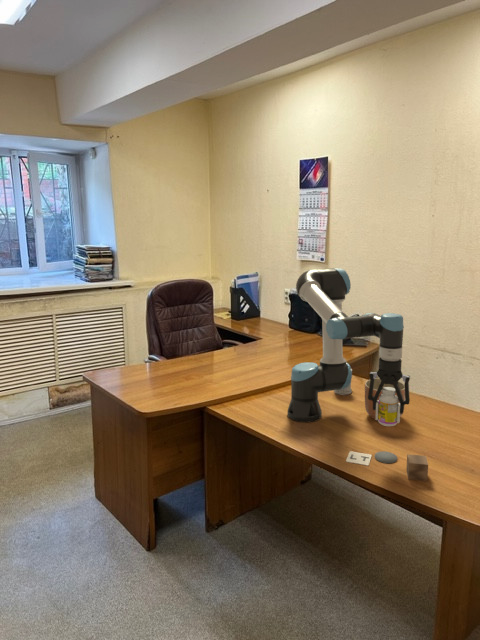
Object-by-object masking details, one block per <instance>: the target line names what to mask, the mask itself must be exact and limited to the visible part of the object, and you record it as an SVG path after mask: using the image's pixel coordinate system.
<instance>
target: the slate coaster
mask: <svg viewBox="0 0 480 640" xmlns="http://www.w3.org/2000/svg"><path fill="white" fill-rule="evenodd" d="M374 459H375V460H376V461H378V462H380V463H383V464H395V463H396V462H398V456H397V455H396V454H395V453H393V452H389V451H385V450H384V451H378V452H376V453H375V454H374Z"/></svg>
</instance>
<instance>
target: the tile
mask: <svg viewBox="0 0 480 640" xmlns="http://www.w3.org/2000/svg"><path fill="white" fill-rule="evenodd" d="M372 456H373V455H372V454H369V453H362V452H357V451H352V450H349V453H348V455H347V457H346V460H345V463H349V464H350V463H351V464H355V465H362V466H368V467H369V466H370V463H371V459H372Z"/></svg>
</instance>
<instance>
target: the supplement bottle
mask: <svg viewBox="0 0 480 640" xmlns="http://www.w3.org/2000/svg"><path fill="white" fill-rule="evenodd" d="M382 393H383V394H381V395H380V396H379V408H378V420H377V422H378V423H379V424H380V425H382V426H385V427H394V426H396V425H397V424H398V423H397V412H398V397H397V396H396V395H395V394H396V390H395V388H392V387H384V388H382Z"/></svg>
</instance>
